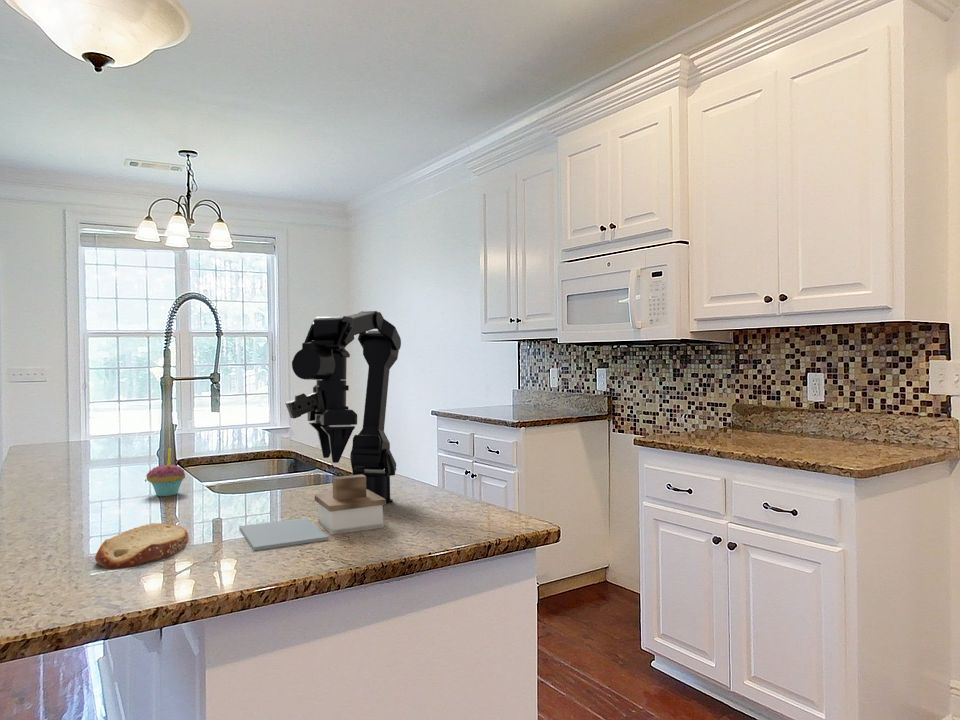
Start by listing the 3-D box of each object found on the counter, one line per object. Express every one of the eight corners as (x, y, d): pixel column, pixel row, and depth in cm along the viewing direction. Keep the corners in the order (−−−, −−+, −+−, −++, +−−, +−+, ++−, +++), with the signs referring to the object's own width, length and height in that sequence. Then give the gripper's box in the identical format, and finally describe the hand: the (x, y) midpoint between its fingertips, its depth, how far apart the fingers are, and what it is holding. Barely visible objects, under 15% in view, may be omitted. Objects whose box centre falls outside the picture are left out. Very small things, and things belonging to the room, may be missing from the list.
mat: (306, 520, 136) (306, 517, 136) (328, 539, 122) (328, 536, 122) (239, 529, 130) (239, 526, 130) (253, 550, 116) (253, 547, 116)
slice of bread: (171, 531, 131) (170, 512, 131) (218, 548, 119) (217, 527, 119) (67, 553, 117) (67, 532, 117) (109, 575, 105) (108, 551, 105)
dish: (366, 516, 139) (366, 494, 139) (383, 527, 130) (382, 504, 130) (318, 522, 134) (317, 500, 134) (331, 534, 126) (331, 510, 125)
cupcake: (193, 492, 165) (192, 443, 164) (160, 499, 157) (159, 448, 157) (172, 489, 169) (171, 441, 169) (139, 495, 162) (138, 445, 162)
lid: (367, 494, 140) (367, 469, 140) (386, 504, 130) (385, 478, 130) (314, 500, 134) (314, 475, 134) (329, 511, 125) (329, 484, 125)
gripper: (282, 380, 137) (281, 457, 137) (296, 379, 120) (295, 467, 120) (337, 380, 142) (336, 455, 141) (358, 379, 125) (357, 464, 124)
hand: (330, 460), depth 132 cm, fingers open, 9 cm apart
